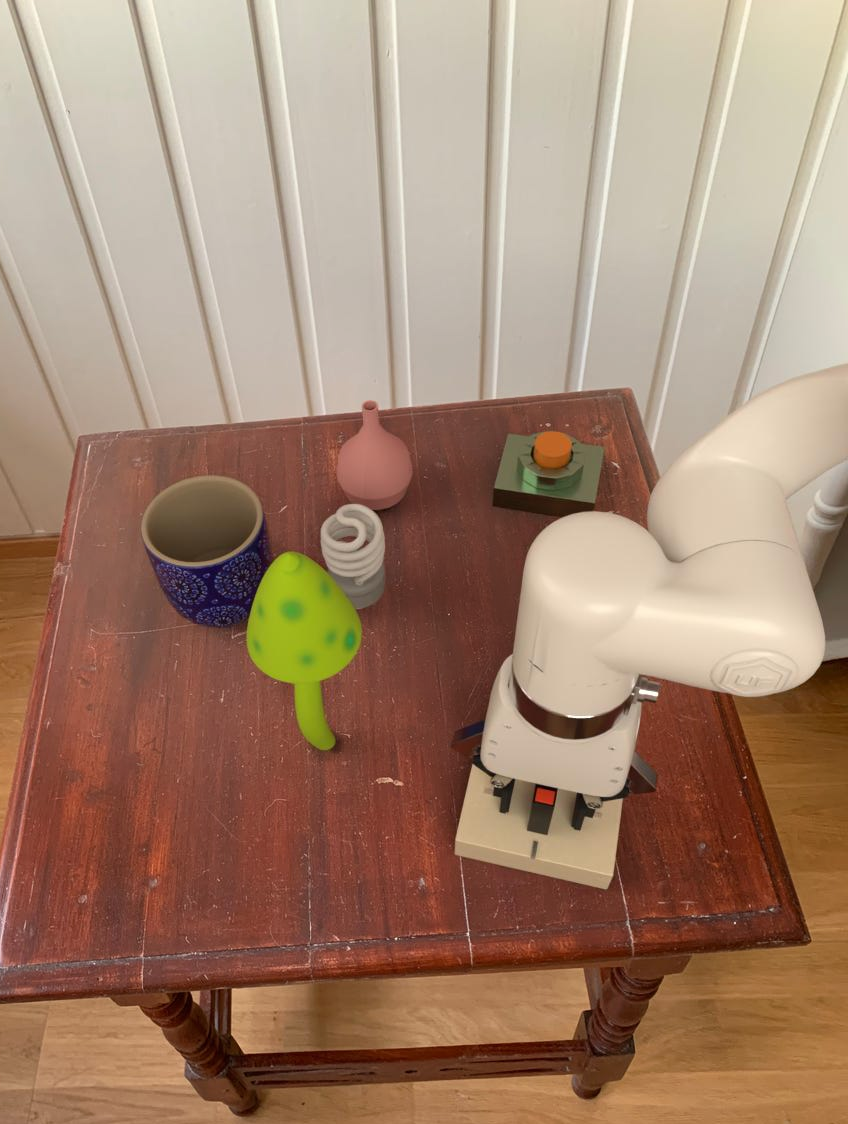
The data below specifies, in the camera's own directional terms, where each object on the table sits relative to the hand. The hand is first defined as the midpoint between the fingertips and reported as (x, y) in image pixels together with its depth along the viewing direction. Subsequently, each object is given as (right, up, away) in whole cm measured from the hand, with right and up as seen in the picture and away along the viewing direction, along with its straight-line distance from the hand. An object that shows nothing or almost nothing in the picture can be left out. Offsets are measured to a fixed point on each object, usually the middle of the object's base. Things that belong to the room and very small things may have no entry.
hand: (542, 803), depth 73 cm
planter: (-28, +17, +18) cm, 37 cm away
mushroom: (-17, +4, +8) cm, 20 cm away
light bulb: (-14, +16, +16) cm, 27 cm away
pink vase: (-13, +28, +24) cm, 39 cm away
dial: (0, 0, 0) cm, 0 cm away
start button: (+5, +31, +20) cm, 37 cm away
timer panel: (0, -2, +3) cm, 3 cm away
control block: (+5, +29, +24) cm, 38 cm away
